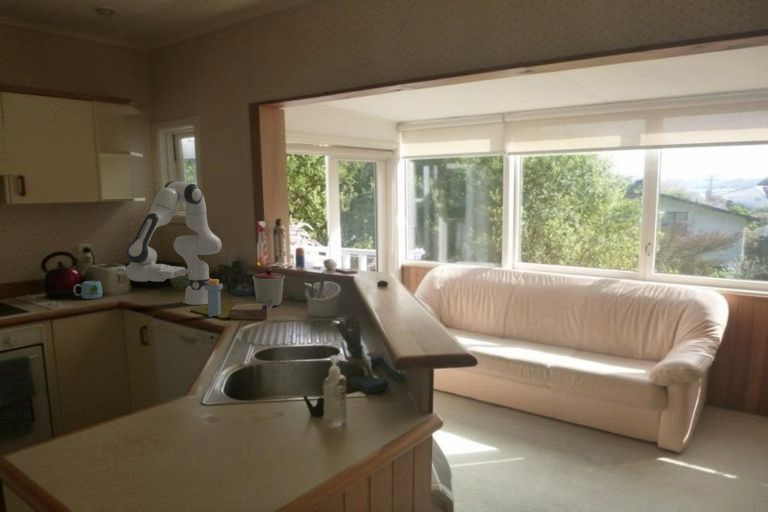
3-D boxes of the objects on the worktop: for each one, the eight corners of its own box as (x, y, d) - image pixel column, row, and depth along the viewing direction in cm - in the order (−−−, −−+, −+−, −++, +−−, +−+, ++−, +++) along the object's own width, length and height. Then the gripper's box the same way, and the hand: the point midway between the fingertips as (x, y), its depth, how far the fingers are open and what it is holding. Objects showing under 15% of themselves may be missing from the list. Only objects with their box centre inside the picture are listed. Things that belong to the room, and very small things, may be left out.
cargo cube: (211, 286, 260) (210, 279, 259) (219, 286, 260) (218, 279, 259) (208, 288, 256) (208, 280, 255) (216, 288, 256) (216, 280, 255)
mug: (75, 301, 291) (74, 284, 290) (72, 298, 299) (71, 282, 298) (104, 298, 301) (103, 282, 300) (100, 295, 309) (99, 279, 308)
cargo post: (209, 314, 263) (209, 283, 261) (223, 314, 263) (222, 283, 261) (205, 317, 256) (204, 285, 254) (219, 317, 256) (218, 285, 254)
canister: (277, 309, 277) (277, 271, 274) (247, 307, 280) (246, 270, 278) (290, 302, 294) (289, 267, 292) (261, 301, 298) (260, 266, 296)
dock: (238, 312, 268) (237, 299, 267) (272, 312, 269) (272, 299, 268) (230, 319, 252) (230, 305, 251) (266, 319, 253) (266, 305, 252)
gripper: (151, 268, 245) (180, 268, 246) (167, 264, 265) (194, 264, 266) (152, 281, 245) (181, 281, 246) (168, 276, 266) (194, 276, 266)
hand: (188, 272), depth 256 cm, fingers open, 8 cm apart
